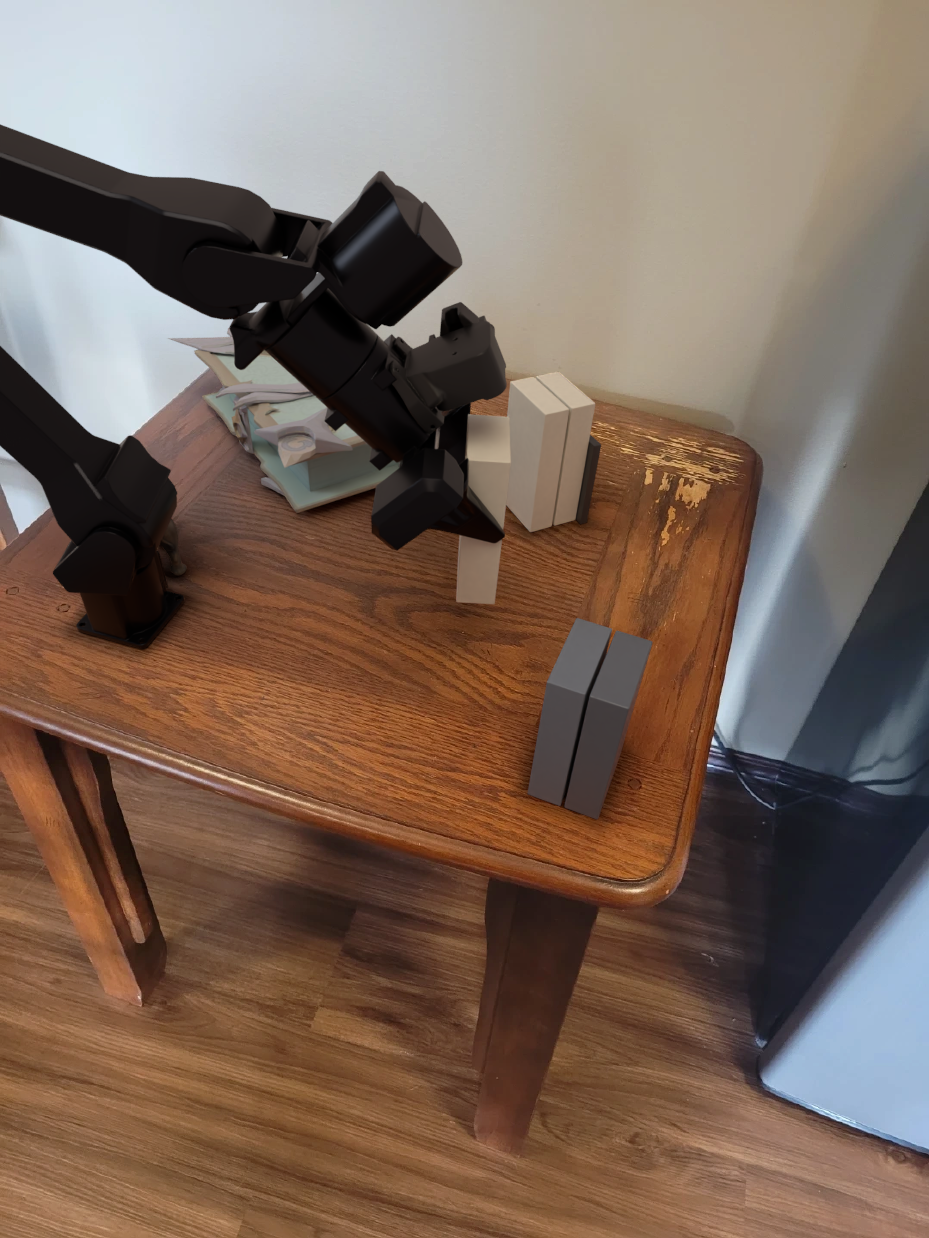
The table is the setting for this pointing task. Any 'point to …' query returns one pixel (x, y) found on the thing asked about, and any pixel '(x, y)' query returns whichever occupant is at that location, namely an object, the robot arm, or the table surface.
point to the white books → (550, 451)
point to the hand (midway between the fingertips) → (500, 513)
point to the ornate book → (286, 429)
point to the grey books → (586, 716)
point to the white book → (491, 487)
